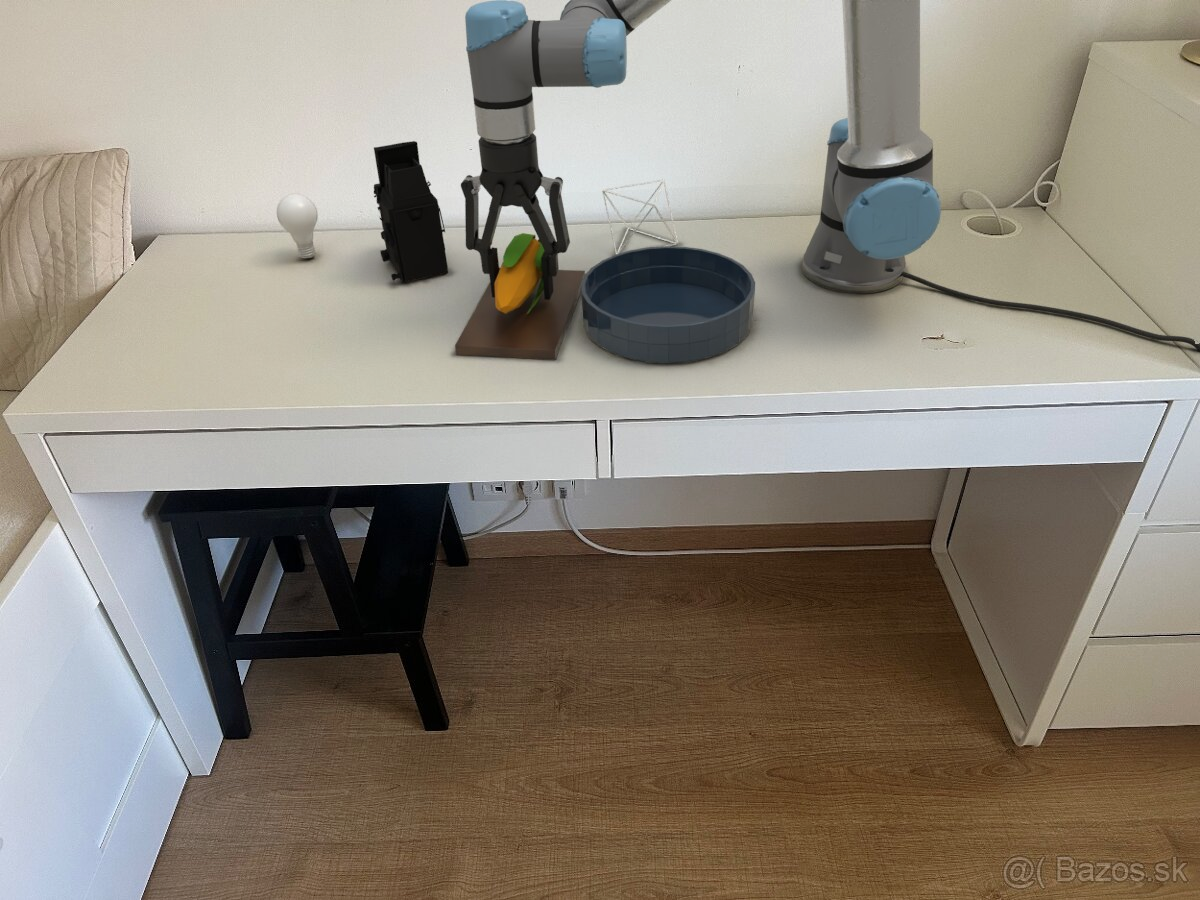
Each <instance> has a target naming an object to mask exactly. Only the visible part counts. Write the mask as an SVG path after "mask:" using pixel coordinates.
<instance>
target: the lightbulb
mask: <svg viewBox="0 0 1200 900" xmlns="http://www.w3.org/2000/svg"><path fill="white" fill-rule="evenodd" d="M318 213H319V212H318V208H317V205H316V204H315V202H314V201H313V200H312V199H311V198H309V197H308V196H306V195H304V194H302V193H289V194H287V195H285V196H283V197H282V198H281V199H280V200H279V202H278V204H277V207H276V218H277V220H278V222H279V224H280V226H281V227H282V228H283V229H284V230H285V231H286V232H287V233H288V234H289V235H290V236H291V238H292V240H293V241H294V243H295V244H296V245H295V246H296V248H297V251H298V255H299V257H300V258H302V259H305V260H310V259H312V258H313V257H315V256H316V254H317V252H316V249H315V245H314V230H315V227H316V225H317V222H318V217H319V215H318Z"/></svg>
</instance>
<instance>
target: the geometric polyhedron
mask: <svg viewBox="0 0 1200 900" xmlns="http://www.w3.org/2000/svg"><path fill="white" fill-rule="evenodd" d="M653 183H660V184H659V185H658V186H657V188H655V190H654V191H653V193H652V194H651V196H650V197H649V198H648V200H647V201H645V200H639V199H637V198H634V197H631V196H626V195H623V194H619V193H618V192H617V193H616V192H613V191H610V190H617V189H623V188H624V189H625V188H630V187H635V186H641V185H647V184H648V185H649V184H653ZM663 186H664V192H665V196H666V201H667V205H668V209H669V214H670V219H671V223H672V224H671V225H672V228H673V232H672V231H671V229H670V228H669V226H668V224H667V223H666V221H665V219H664V218H663V216H662V214H661V212H660V211H659V209H658V207H657V206H656V203H657V201H658V199H659V195H660V193H661V190H662V188H663ZM667 189H668V188H667V185H666V180H665V179H659V180H652V181H651V180H650V181H645V182H639V183H634V184H628V185H622V186H615V187H611V188H604V189H602V192H601V193H602V196H603V201H604V206H605V212H606V216H607V220H608V225H609V229H610V235H611V237H612V238H611V239H612V243H613V247H614V251H615V255H616V254H619V253H621V251H622V250H623V249H624V247H625V246H626V244H627V243H628V242H629V240H630V239H631V238H632V237H633V235H634V234H635V233H639V234H643V235H645V236H649V237H652V238H655V239H658V240H661V241H664V242H668V243H670V244H666V245H664V246H677V245H678V244H679V240H678V237H677V232H676V231H677V230H676V227H675V221H674V217H673V213H672V207H671V204H670V199H669V194H668V190H667ZM657 191H658V192H657ZM607 193H608V194H611V195H615V196H618V197H620V198H625V199H628V200H631V201H635V202H639V203H641V204H644V205H643V206H642V208H641V209H640V211H638V213H637V215H636V216H635V218H634V219H633V220H632V221H631V222H630V224H629V226H628V224H627V223H626V221H625V220H624V219H623V216H622V215H621V214H620V213H619V210H618V209H617V208H616V206H615V205H614V204H613V202H612V200H611V199H610V197H609V196H608V195H607ZM656 193H657V195H656V196H655V199H654V202H653V203H650V201H651V199H653V197H654V195H655V194H656ZM607 200H608V202H609V203H610V205H611V206H612V208H613V210H614V211H615V212H616V214H617V215H618V217H619V218H620V219H621V221H622V223H623V224H624V226H625V228H626V230H625V233H624V235H623V238H622V239H621V242H620V245H619V247H618V249H617V246H616V242H615V237H614V232H613V227H612V222H611V218H610V214H609V209H608V204H607ZM647 205H649V206H651V207H650V208H649V210H648V211H647V213H646V214H645V216H644V217H643V218H642V219H641V221H640V222H639V224H638V225H636V227H635V229H634V228H631V227H632V225H633V224H634V222H635V221H636V220H637V218H638V217H639V216H640V214H641V213H642V212H643V210H644V209H645V208H646V207H647ZM653 209H655V211H656V213H657V214H658V216H659V218H660V219H661V222H662V223H663V224H664V226H665V227H666V229H667V231H668V232H669V234H670V236H671V237H672V239H673V240H674V241H673V240H669V239H666V238H663V237H660V236H657V235H653V234H650V233H648V232H644V231H641V230H638V229H639V227H640V226H641V224H642V223H643V222H644V221H645V219H646V218H647V216H648V215H649V214H650V213H651V211H652V210H653ZM629 231H633V232H632V233H631V234H630V235H629V236H628V238H627V240H626V241H625V239H626V236H627V235H628V232H629ZM624 241H625V242H624ZM623 243H624V244H623ZM662 246H663V245H661V246H659V247H662Z"/></svg>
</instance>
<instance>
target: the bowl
mask: <svg viewBox="0 0 1200 900" xmlns="http://www.w3.org/2000/svg"><path fill="white" fill-rule="evenodd" d="M661 246H662V247H660V246H650V247H643V248H636V249H632V250H626V251H623V252H620V253H619V254H616V253H615V254H614V255H612V256H609V257H607V258H604V259H603V260H601V261H599V262H598V263H596V264H594V265H593V266H592V267H590V268H589V270H588V271H587V272H585V275H584V278H583V280H582V283H581V293H580V296H581V297H580V298H581V313H582V314H581V315H582V316H581V317H582V326H583V329H584V331H585V333H586V334H587V336H588V338H589V339H590V340H592V341H593V342H594V343H595V344H596V345H597V346H599V347H600V348H602V349H604V350H606V351H608V352H610V353H612V354H615V355H617V356H620V357H622V358H626V359H630V360H634V361H638V362H644V363H650V364H651V363H652V364H653V363H654V364H682V363H689V362H690V363H691V362H696V361H701V360H706V359H709V358H711V357H715V356H717V355H720V354H722V353H725V352H727V351H729V350H730V349H732V348H734V347H736V346H738V345H739V344H740V343H742V341H743V340H744V339H745V338H747V337H748V335H749V333H750V331H751V329H752V328H753V322H754V309H755V296H756V295H755V293H756V281H755V278H754V277H753V273H751V271H749V270H748V268H747V267H745V265H744V264H742V263H740V262H739V261H737V260H736V259H734V258H732V257H729V256H727V255H724V254H722V253H719V252H715V251H712V250H708V249H704V248H698V247H690V246H677V245H673V246H665V245H661Z"/></svg>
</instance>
